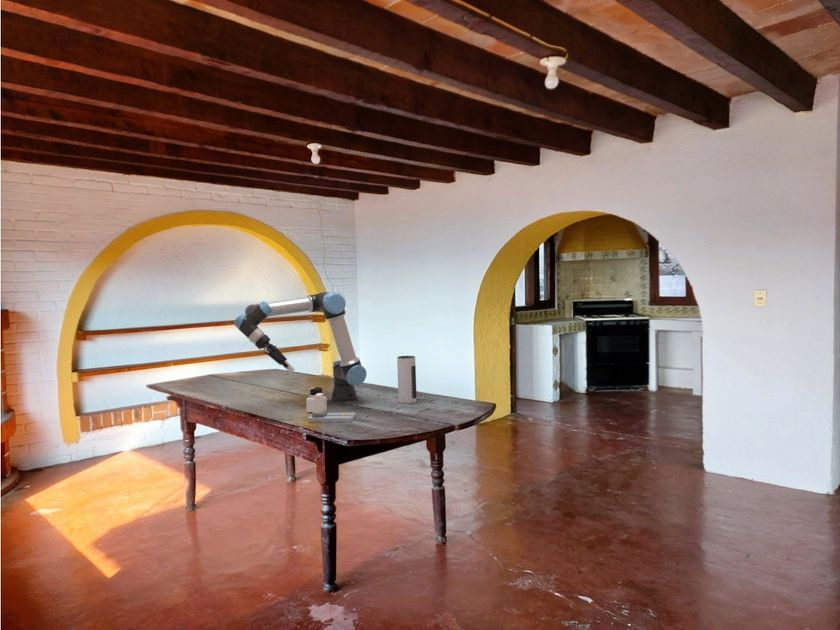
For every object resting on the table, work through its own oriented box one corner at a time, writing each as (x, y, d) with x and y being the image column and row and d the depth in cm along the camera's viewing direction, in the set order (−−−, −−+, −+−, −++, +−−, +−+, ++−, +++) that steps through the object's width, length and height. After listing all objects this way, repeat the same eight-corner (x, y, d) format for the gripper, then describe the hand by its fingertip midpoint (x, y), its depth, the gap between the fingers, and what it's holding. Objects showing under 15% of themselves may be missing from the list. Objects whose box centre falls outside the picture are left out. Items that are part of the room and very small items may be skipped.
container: (327, 411, 315) (326, 386, 314) (317, 414, 308) (316, 389, 307) (316, 409, 319) (315, 385, 318) (306, 412, 312) (305, 388, 311)
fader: (315, 413, 300) (315, 392, 300) (327, 413, 300) (326, 392, 299) (311, 416, 292) (311, 396, 292) (323, 416, 292) (322, 395, 291)
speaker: (409, 404, 325) (408, 357, 324) (394, 402, 331) (393, 356, 329) (420, 401, 334) (419, 355, 332) (405, 399, 340) (404, 354, 338)
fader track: (313, 416, 302) (313, 412, 302) (355, 416, 301) (355, 412, 301) (306, 422, 291) (306, 418, 290) (350, 422, 289) (350, 418, 289)
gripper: (259, 342, 307) (292, 374, 307) (250, 345, 294) (284, 378, 293) (269, 332, 306) (301, 364, 306) (259, 335, 293) (294, 368, 293)
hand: (293, 371), depth 300 cm, fingers closed
